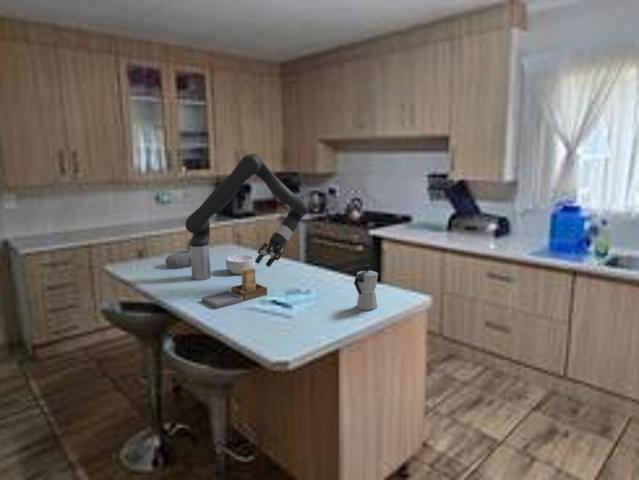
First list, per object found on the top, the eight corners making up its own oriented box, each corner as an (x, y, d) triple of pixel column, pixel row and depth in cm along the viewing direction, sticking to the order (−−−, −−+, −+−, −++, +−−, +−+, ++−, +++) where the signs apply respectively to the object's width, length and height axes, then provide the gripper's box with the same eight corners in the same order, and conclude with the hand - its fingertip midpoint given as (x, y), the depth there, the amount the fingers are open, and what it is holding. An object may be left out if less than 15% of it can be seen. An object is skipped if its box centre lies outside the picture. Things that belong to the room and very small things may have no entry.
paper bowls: (252, 275, 236) (251, 260, 234) (223, 275, 236) (222, 261, 235) (257, 268, 251) (256, 254, 249) (229, 268, 251) (229, 254, 249)
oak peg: (242, 294, 205) (241, 269, 203) (250, 292, 208) (249, 267, 206) (247, 296, 202) (246, 271, 199) (256, 294, 205) (255, 269, 202)
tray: (202, 301, 197) (201, 296, 196) (228, 294, 205) (228, 290, 205) (216, 308, 187) (216, 304, 187) (243, 301, 196) (243, 297, 195)
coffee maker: (366, 300, 195) (366, 260, 191) (384, 305, 190) (384, 263, 186) (346, 310, 184) (346, 267, 180) (364, 315, 178) (364, 271, 175)
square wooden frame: (231, 294, 205) (231, 287, 205) (253, 289, 213) (252, 282, 212) (245, 300, 197) (244, 292, 196) (267, 294, 204) (266, 287, 204)
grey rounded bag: (193, 260, 271) (161, 266, 258) (192, 246, 269) (159, 252, 256) (205, 264, 260) (172, 271, 247) (204, 250, 258) (171, 256, 245)
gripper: (267, 229, 215) (248, 257, 210) (285, 233, 205) (265, 262, 200) (277, 239, 220) (258, 266, 215) (295, 243, 209) (275, 271, 204)
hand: (261, 264), depth 207 cm, fingers open, 8 cm apart
